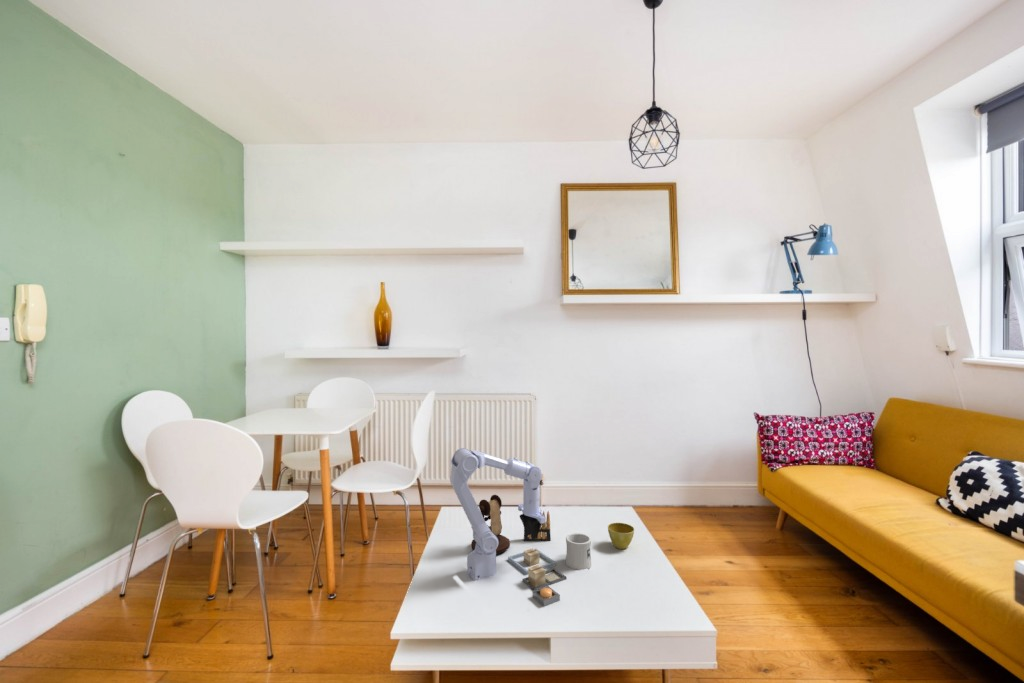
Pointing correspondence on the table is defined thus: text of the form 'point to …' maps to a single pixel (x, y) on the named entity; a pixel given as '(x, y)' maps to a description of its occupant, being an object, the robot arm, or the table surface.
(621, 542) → the flower pot
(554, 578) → the plate
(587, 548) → the mug
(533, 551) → the tan cardboard block
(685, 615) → the table surface
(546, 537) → the ammunition clip
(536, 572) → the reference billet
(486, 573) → the robot arm
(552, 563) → the light blue square tray
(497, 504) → the scroll
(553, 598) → the button housing
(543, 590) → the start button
